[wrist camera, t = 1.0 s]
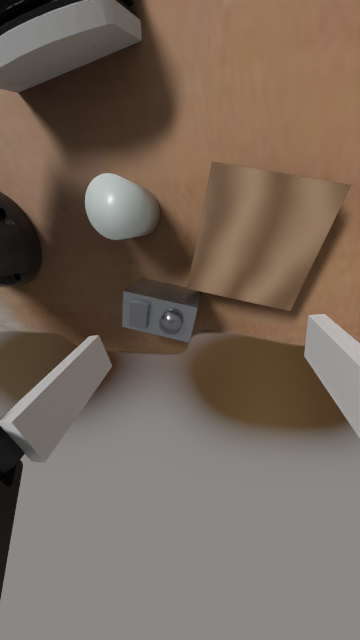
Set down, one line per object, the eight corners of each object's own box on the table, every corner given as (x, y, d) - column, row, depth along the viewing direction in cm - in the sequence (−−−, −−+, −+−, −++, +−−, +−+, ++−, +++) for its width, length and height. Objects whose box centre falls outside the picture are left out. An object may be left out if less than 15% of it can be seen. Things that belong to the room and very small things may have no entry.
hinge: (130, -43, 18) (81, -145, 11) (147, 44, 21) (117, 8, 14) (-8, 30, 21) (-110, -11, 15) (25, 94, 25) (-46, 85, 18)
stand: (190, 280, 30) (187, 288, 27) (212, 170, 24) (212, 161, 20) (281, 300, 29) (289, 311, 26) (330, 190, 23) (351, 185, 19)
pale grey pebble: (118, 231, 29) (86, 234, 22) (119, 183, 26) (82, 168, 19) (157, 239, 28) (137, 244, 21) (162, 191, 25) (141, 178, 18)
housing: (139, 307, 34) (119, 330, 27) (141, 277, 31) (119, 293, 24) (194, 320, 33) (188, 346, 26) (201, 290, 31) (197, 310, 24)
